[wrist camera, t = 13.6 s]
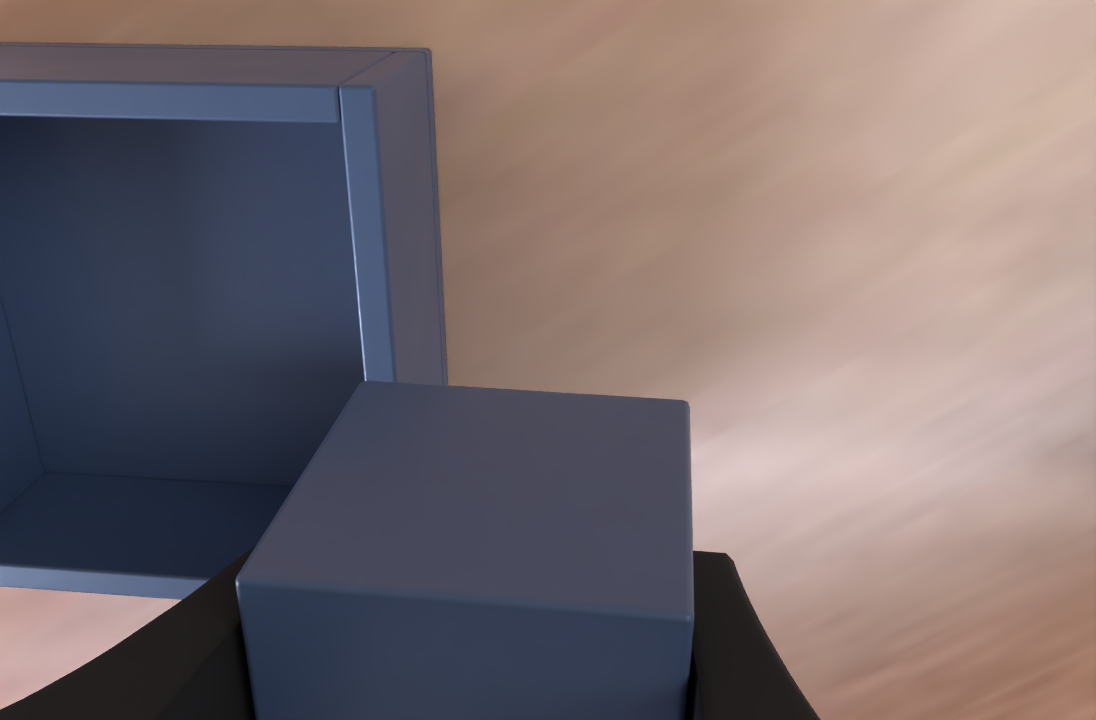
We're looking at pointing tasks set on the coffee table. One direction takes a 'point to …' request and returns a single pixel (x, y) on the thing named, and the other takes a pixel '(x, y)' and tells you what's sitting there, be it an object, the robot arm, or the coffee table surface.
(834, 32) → the coffee table surface
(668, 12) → the coffee table surface
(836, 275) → the coffee table surface
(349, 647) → the slate block
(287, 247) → the slate bin
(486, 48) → the coffee table surface
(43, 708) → the robot arm
